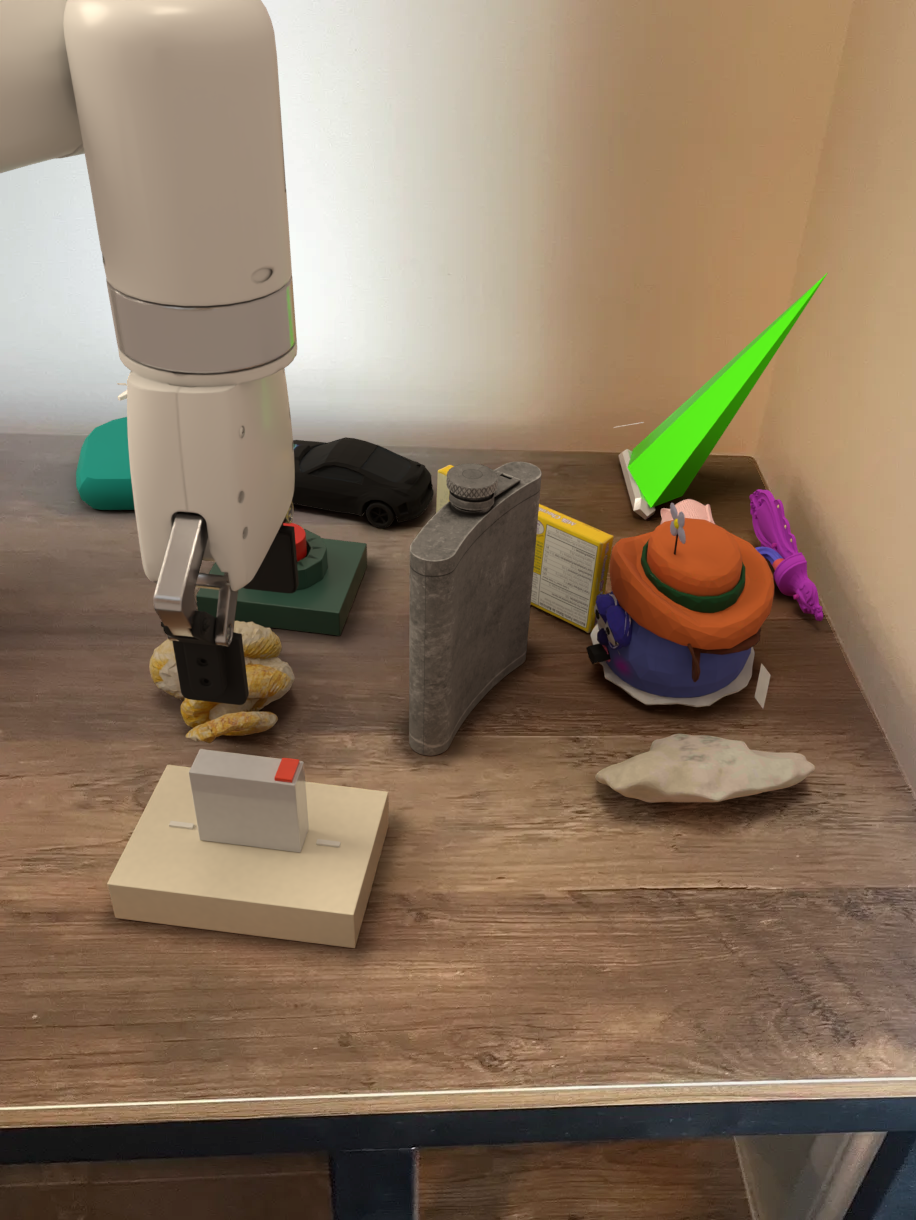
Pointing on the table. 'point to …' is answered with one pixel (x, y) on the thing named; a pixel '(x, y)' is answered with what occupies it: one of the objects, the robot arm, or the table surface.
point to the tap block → (253, 868)
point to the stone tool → (703, 770)
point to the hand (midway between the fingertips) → (244, 640)
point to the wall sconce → (769, 546)
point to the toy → (683, 614)
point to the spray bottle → (106, 466)
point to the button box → (304, 590)
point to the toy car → (360, 480)
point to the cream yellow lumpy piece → (218, 719)
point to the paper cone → (700, 421)
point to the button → (299, 541)
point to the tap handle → (250, 800)
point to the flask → (469, 596)
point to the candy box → (562, 563)
